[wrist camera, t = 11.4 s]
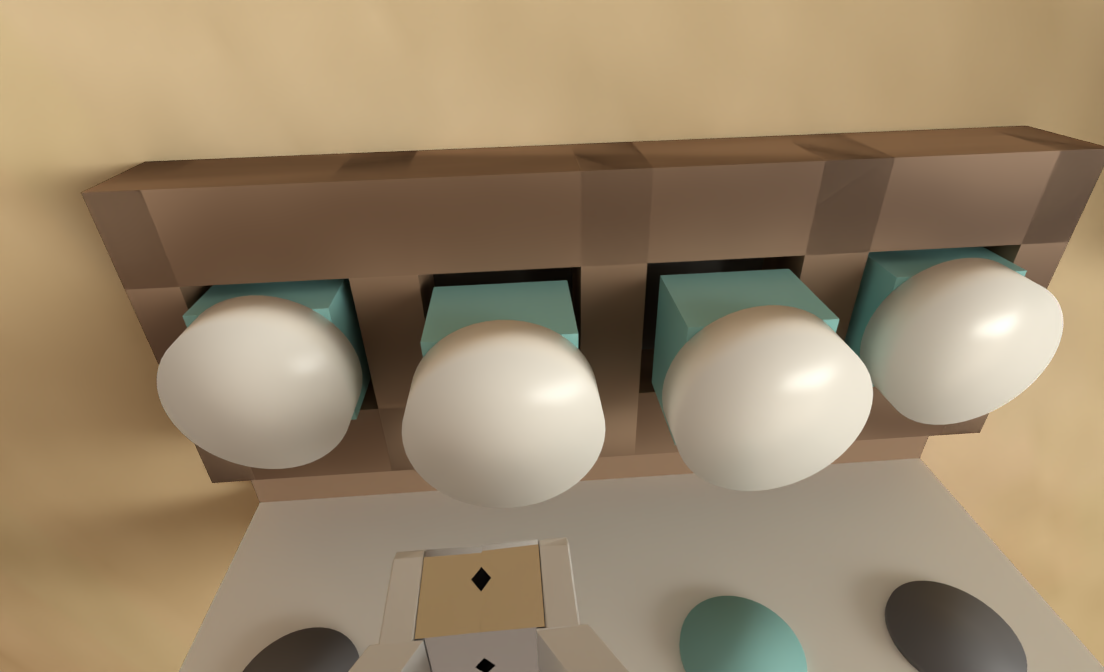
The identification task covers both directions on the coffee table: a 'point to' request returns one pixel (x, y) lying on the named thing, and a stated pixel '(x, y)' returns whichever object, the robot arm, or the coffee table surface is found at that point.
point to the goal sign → (660, 570)
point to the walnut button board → (579, 242)
